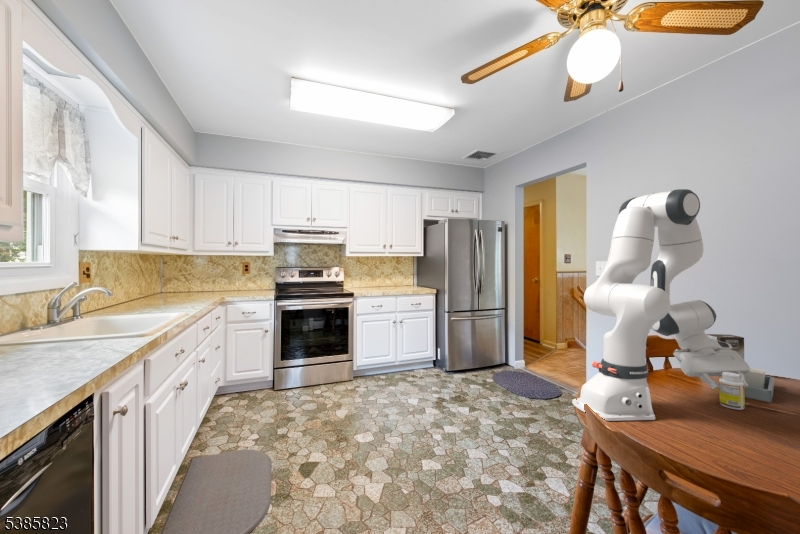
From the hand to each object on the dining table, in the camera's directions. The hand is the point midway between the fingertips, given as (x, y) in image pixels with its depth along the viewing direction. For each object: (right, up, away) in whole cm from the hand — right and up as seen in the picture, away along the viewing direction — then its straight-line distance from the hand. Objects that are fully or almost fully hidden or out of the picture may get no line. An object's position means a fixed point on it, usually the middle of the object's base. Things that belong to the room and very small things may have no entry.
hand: (730, 387), depth 101 cm
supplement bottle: (0, -6, 0) cm, 6 cm away
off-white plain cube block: (+20, -5, +13) cm, 25 cm away
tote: (+17, -6, +10) cm, 21 cm away
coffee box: (+27, -6, +28) cm, 39 cm away
